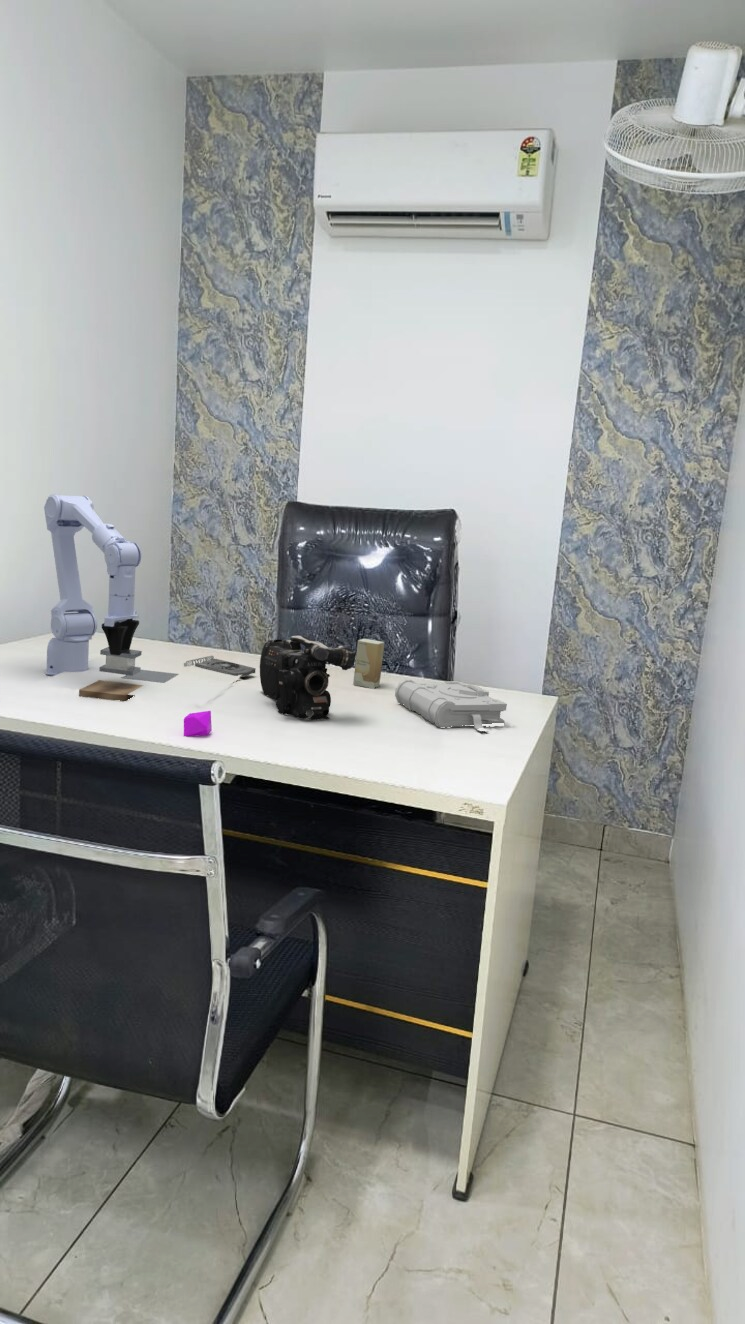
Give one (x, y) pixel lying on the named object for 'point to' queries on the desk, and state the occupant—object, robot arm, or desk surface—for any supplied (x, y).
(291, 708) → the movie camera
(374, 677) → the skincare box
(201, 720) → the crystal
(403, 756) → the desk surface
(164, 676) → the stand
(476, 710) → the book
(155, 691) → the desk surface
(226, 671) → the graphics card
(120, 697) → the stand
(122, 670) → the block
